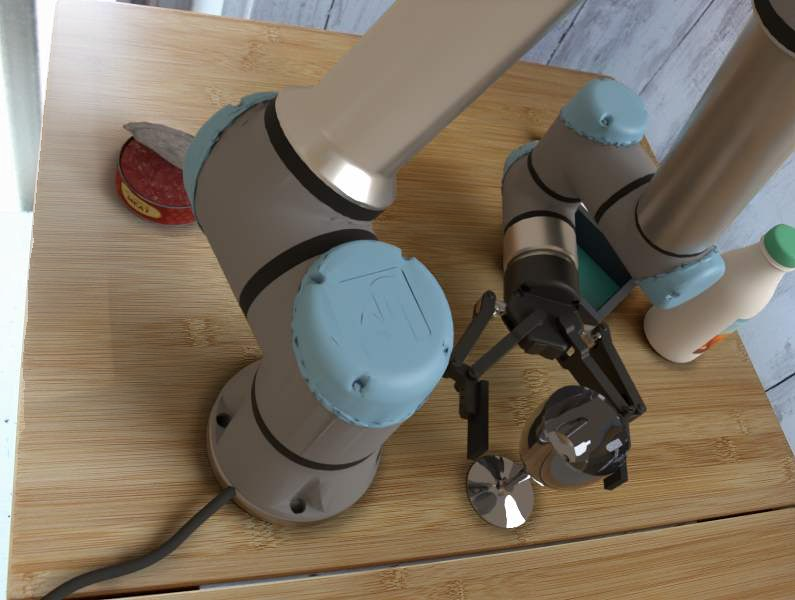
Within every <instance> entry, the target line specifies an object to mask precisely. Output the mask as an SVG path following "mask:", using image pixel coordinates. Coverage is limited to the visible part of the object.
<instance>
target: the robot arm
mask: <svg viewBox="0 0 795 600" xmlns="http://www.w3.org/2000/svg"><path fill="white" fill-rule="evenodd" d="M584 1H585V0H395V1H394V2H393V3H391V5H390V6H389V7H388V8H387V9H386V10H385V11H384V12H383V13H382V15H380V17H379V18H378V19H376V21H375V22H374V23H373V24H372V25H371V26H370V27H369V28H368V29H367V30H366V31H365V32H364V33H363V35H361V36H360V38H359V39H358V40H357V41H356V42H355V43H354V44H353V45H352V46H351V47H350V48H349V49H348V50H347V51H346V53H344V54H343V55H342V56H341V58H340V59H339V60H338V61H337V62H336V63H335V64H334V65H333V66H332V67H331V68H330V70H328V71H327V72H326V74H325V75H324V76H322V77H321V79H320V80H319V81H318V82H317V83H316V84H315V85H299V84H291V85H287V86H285V87H284V88H283V89H281V90H280V91H275V90H269V91H268V90H267V91H257V92H253V93H249V94H247V95H245V96H241V98H240V101H239V103H238V104H237V105H233V104H231V103H228V104H226V105H224V106H223V107H221V108H220V109H218V110H217V111H216V112H215V113H214V114H212V115H211V116H210V117H209V118H208V119H207V120H206V121H205V122H204V123H203V124H202V126H201V127H200V128H199V129H198V131H197V132H196V134H195V135H193V136H194V138H193V140H192V142H191V144H190V145H189V148H188V150H187V153H186V156H185V160H184V165H183V181H184V186H185V190H186V192H187V195H188V198H189V200H190V203H191V205H192V212H193V214H194V216H195V218H196V220H197V221H196V222H195V223H196V225H197V227H198V228H199V230H200V231H201V233H202V234H203V235H204V236H205V238H206V240H207V242H208V244H209V246H210V249H211V250H212V252H213V254H214V256H215V259H216V260H217V262H218V264H219V267H220V269H221V270H222V273H223V275H224V277H225V279H226V281H227V284H228V286H229V287H230V289H231V292H232V294H233V295H234V299H235V300H236V302H237V304H238V306H239V308H240V310H241V312H242V314H243V316H244V318H245V320H246V322H247V324H248V327H249V328H250V331H251V332H252V334H253V336H254V339H255V341H256V343H257V345H258V347H259V349H260V352H261V354H262V358H260V359H258V360H256V361H254V362H251V363H250V364H248V365H246V366H244V367H242V368H241V369H240V370H238V371H237V372H236V373H235V374H233V376H232V377H230V378H229V380H228V381H226V383H225V385H224V386H223V387H222V389H221V390H220V392H219V394H218V395H217V398H216V400H215V402H214V404H213V406H212V407H211V411H210V413H209V415H208V416H209V417H208V420H207V425H206V430H205V431H206V433H205V444H206V445H205V447H206V453H207V457H208V461H209V464H210V468H211V470H212V472H213V475H214V476H215V479H216V481H217V482H218V483H219V484H218V485H220V487H221V488H222V489H223V490H222V491H221V492H220V493H218V495H216V496H215V497H213V498H212V499H211V500H210V501H209V502H208V503H207V504H205V505H204V506H203V507H202V508H201V509H199V510H198V511H197V512H196V513H195V514H194V515H193V516H191V518H190V519H188V520H187V521H186V522H185V523H184V524H183V525H182V526H181V527H179V529H178V530H177V531H176V532H175V533H174V534H173V535H172V536H170V538H168V539H167V540H166V541H165V542H163V543H162V544H161V545H159V546H157V547H156V548H154V549H152V550H151V551H149V552H147V553H145V554H143V555H140V556H138V557H135V558H133V559H130V560H126V561H122V562H120V563H116V564H112V565H108V566H104V567H100V568H96V569H93V570H90V571H88V572H85V573H82V574H80V575H77V576H74V577H72V578H70V579H68V580H67V581H64V582H62V583H61V584H60V585H58V586H56V587H54V588H53V589H52V590H51V591H49V592H47V593H46V594H45V595H44V596H42V597H41V598H39V600H63V599H65V598H66V597H68V596H69V595H71V594H73V593H75V592H77V591H79V590H81V589H84V588H86V587H89V586H92V585H94V584H98V583H102V582H104V581H108V580H112V579H116V578H120V577H125V576H127V575H130V574H133V573H137V572H139V571H142V570H144V569H146V568H148V567H151V566H153V565H154V564H156V563H158V562H160V561H162V560H164V559H165V558H167V557H168V556H169V555H171V554H172V553H173V552H175V550H177V549H178V548H179V547H180V546H181V545H182V544H183V543H184V542H185V541H186V540H187V539H188V538H189V537H191V535H192V534H193V533H194V532H196V530H197V529H199V528H200V526H202V525H203V524H204V523H205V522H207V520H208V519H210V518H211V517H212V516H213V515H215V513H217V512H218V511H219V510H220V509H222V508H223V507H224V506H226V504H227V503H228V502H230V501H231V500H232V501H233V502H234V503H235V504H236V505H237V506H238V507H240V508H241V509H242V510H244V511H245V512H246V513H248V514H250V515H252V516H253V517H255V518H257V519H259V520H261V521H264V522H266V523H269V524H272V525H276V526H280V527H288V528H308V527H315V526H318V525H322V524H325V523H327V522H330V521H332V520H334V519H337V518H338V517H340V516H342V515H343V514H345V513H346V512H347V511H349V509H351V508H352V507H353V506H355V504H357V502H358V501H359V500H360V499H361V498H362V497H363V496H364V495H365V493H366V492H367V491H368V490H369V488H370V487H371V485H372V484H373V481H374V479H375V477H376V475H377V472H378V469H379V466H380V463H381V457H382V454H383V453H382V452H383V451H382V448H383V446H384V443H385V442H386V441H387V440H388V439H389V438H390V437H391V436H392V435H393V434H394V433H395V432H396V431H397V430H398V428H400V427H401V425H403V424H404V422H405V421H406V420H408V419H410V418H411V417H412V416H413V415H414V414H415V413H416V412H417V411H419V410H420V409H421V408H422V406H423V405H424V403H426V402H427V401H428V399H429V398H430V396H431V394H432V392H433V391H434V389H435V387H436V386H437V384H438V383H439V382H440V381H441V379H442V378H443V379H446V380H447V379H451V380H453V381H454V384H453V388H454V390H455V391H456V392H457V393H458V414H459V417H460V419H461V420H462V419H463V420H467V430H466V431H467V433H466V434H467V435H466V460H468V461H472V462H473V461H474V462H476V461H478V460H479V459H480V457H482V456H483V455H484V454H485V453H486V452H488V451H490V447H489V443H490V442H489V440H490V436H489V435H490V433H489V432H490V431H489V429H490V428H489V427H490V426H489V424H490V423H489V422H490V417H489V416H490V414H489V413H490V381H489V380H486V379H481V377H483V376H484V375H485V374H486V373H487V372H488V371H490V370H491V369H492V368H493V367H494V366H495V365H496V364H498V363H499V362H500V361H501V360H502V359H503V358H504V357H505V356H506V355H508V354H509V353H510V352H511V351H513V349H515V347H517V346H518V347H519V348H520V349H522V350H523V353H524V354H526V355H531V356H540V357H542V358H544V359H546V360H550V361H554V360H556V362H557V363H558V364H559V365H560V366H561V368H562V369H564V370H567V371H568V372H569V373H570V374H571V376H572V377H573V379H574V380H575V381H576V383H577V384H578V385H579V386H583V387H587V388H589V389H592V390H594V391H596V392H598V393H599V394H601V395H602V396H603V397H605V398H606V399H607V400H608V401H609V402H610V403H611V404H612V405H613V406H614V408H615V409H616V410H617V411H618V413H619V415H620V416H621V418H622V420H623V422H624V424H625V427H626V430H627V433H628V440H629V450H628V452H629V451H631V448H632V440H631V431H630V430H631V429H630V424H631V423H633V422H634V421H635V420H636V419H638V418H640V417H641V416H642V415H644V414H645V413H646V412H647V409H648V408H647V406H646V404H645V402H644V400H643V398H642V397H641V394H640V392H639V391H638V388H637V386H636V385H635V383H634V381H633V379H632V377H631V375H630V373H629V371H628V369H627V368H626V366H625V364H624V362H623V361H622V358H621V356H620V355H619V352H618V350H617V348H616V347H615V345H614V343H613V339H612V334H611V329H610V326H609V324H608V323H607V322H604V321H600V322H599V323H598V324H597V325H596V326H591V325H585V324H583V322H582V320H581V319H580V316H579V306H580V286H579V274H578V255H577V244H576V233H575V231H576V230H575V211H576V209H577V207H578V206H579V205H580V204H581V203H583V204H584V206H585V207H586V209H587V210H588V212H589V213H590V215H591V216H592V218H593V219H594V221H595V222H596V223H597V225H598V226H599V228H600V229H601V231H602V232H603V234H604V235H605V237H606V238H607V240H608V241H609V243H610V244H611V246H612V248H613V249H614V251H615V252H616V254H617V255H618V257H619V258H620V260H621V261H622V263H623V264H624V266H625V267H626V269H627V270H628V272H629V273H630V275H631V276H632V280H633V281H634V283H635V284H637V287H638V288H639V289H640V290H641V291H642V293H643V294H644V295H645V297H646V298H647V299H648V300H649V302H650V303H651V304H652V305H653V306H655V307H657V308H659V309H670V308H673V307H676V306H678V305H680V304H682V303H684V302H686V301H688V300H690V299H692V298H694V297H695V296H697V295H699V294H700V293H702V292H703V291H705V290H706V289H708V288H709V287H710V286H712V285H713V284H714V283H715V282H717V281H718V280H719V279H720V278H721V277H722V276H723V274H724V272H725V262H724V261H723V259H722V257H721V256H720V254H721V253H719V248H718V246H717V245H714V244H715V243H716V242H717V241H718V240H719V238H720V237H721V236H722V235H723V234H724V232H725V231H727V229H728V228H729V227H730V226H731V225H732V223H733V222H734V221H735V220H736V219H737V217H739V215H740V214H741V213H742V212H743V211H744V210H745V208H746V207H747V206H748V205H749V204H750V203H751V201H752V200H753V199H754V198H755V197H756V196H757V195H758V193H759V192H760V191H761V190H762V189H763V188H764V187H765V185H766V184H767V183H768V182H769V181H770V180H771V178H772V177H773V176H774V175H775V174H776V173H777V172H778V171H779V169H780V168H781V167H782V166H783V164H785V162H787V160H788V159H789V158H790V157H791V156H792V154H794V152H795V0H750V2H751V4H750V5H751V9H752V13H751V15H750V16H749V18H748V19H747V21H746V23H745V24H744V26H743V27H742V29H741V31H740V33H739V35H737V38H736V39H735V41H734V43H733V44H732V46H731V48H730V49H729V51H728V52H727V54H726V55H725V57H724V59H723V61H722V62H721V64H720V66H719V67H718V69H717V71H716V72H715V74H714V76H713V77H712V79H711V81H710V82H709V83H708V85H707V87H706V89H705V90H704V92H703V93H702V95H701V96H700V99H699V100H698V102H697V104H696V105H695V107H694V109H692V112H691V114H689V117H688V118H687V120H686V122H685V123H684V125H683V127H682V128H681V130H680V131H679V133H678V135H677V137H676V138H675V140H674V141H673V143H672V145H671V147H670V148H669V149H668V151H667V153H666V154H665V156H664V158H663V160H662V161H661V163H660V164H659V166H658V167H657V165H656V164H655V163H654V161H653V160H652V158H651V157H650V156H649V154H648V153H647V151H646V149H645V148H644V147H643V146H642V145H641V143H640V142H641V141H642V140H643V138H644V135H645V133H647V131H648V129H649V127H650V123H651V118H650V115H649V113H648V107H647V104H646V103H645V101H644V100H643V99H642V97H641V96H640V95H639V94H638V93H637V92H636V91H635V90H634V89H632V88H631V87H630V86H628V85H627V84H624V83H623V82H621V81H618V80H615V79H612V78H609V77H600V78H594V79H590V80H588V81H586V82H585V83H584V84H582V86H580V88H579V89H578V90H577V92H576V93H575V94H574V95H573V96H572V98H570V99H569V101H568V102H567V103H566V104H564V106H562V107H561V108H560V110H559V113H558V115H557V116H556V118H555V119H554V121H553V122H552V123H551V124H550V126H549V128H548V129H547V130H546V132H544V134H543V136H542V137H541V138H540V140H536V141H535V140H533V141H528V142H525V143H523V145H522V146H520V147H517V148H514V149H513V150H512V151H510V153H509V154H508V155H507V156H506V159H505V161H504V163H503V171H502V178H501V182H500V183H501V186H500V191H501V192H500V193H501V201H502V202H501V203H502V204H501V207H502V210H501V211H502V233H503V234H502V251H503V252H502V253H503V254H502V256H503V257H502V259H503V263H502V265H503V266H502V268H503V277H502V279H503V280H502V281H503V283H502V284H503V285H502V286H503V288H502V289H503V292H502V293H503V295H502V296H503V301H502V300H499V299H497V296H496V293H495V292H494V291H493V290H491V289H488V290H485V291H484V293H482V295H481V296H480V297H479V298H478V300H477V301H476V302H475V303H474V304H473V310H472V315H471V316H472V317H471V321H469V323H468V325H467V327H466V328H465V330H464V331H463V333H462V334H461V336H460V337H459V339H458V340H457V342H456V344H455V345H454V335H455V334H454V333H455V332H454V322H453V316H452V311H451V308H450V305H449V302H448V299H447V296H446V295H445V292H444V290H443V288H442V287H441V285H440V283H439V282H438V281H437V279H436V277H435V276H434V275H433V274H432V273H431V271H430V270H429V269H428V268H427V267H426V266H425V264H423V263H422V262H421V261H419V259H417V258H416V257H415V256H411V257H406V256H404V255H402V249H401V248H400V247H398V246H396V245H394V244H391V243H387V242H385V241H380V240H379V238H378V236H377V235H376V233H375V231H374V229H373V228H372V224H373V222H374V221H375V220H376V219H377V218H379V217H380V216H381V215H382V214H383V213H384V212H385V211H386V210H387V209H388V208H390V206H391V205H392V204H393V203H394V202H395V200H396V199H397V198H396V197H397V174H398V172H399V171H400V170H401V169H402V168H403V167H405V165H407V164H408V163H409V162H410V161H411V160H412V159H413V158H414V157H415V156H417V155H418V153H420V152H421V151H422V150H423V149H424V148H425V147H426V146H427V145H428V144H429V143H431V142H432V141H433V140H434V139H435V138H436V137H437V136H438V135H439V134H440V133H442V132H443V131H444V130H445V129H446V128H447V127H448V126H449V125H451V123H452V122H454V120H456V119H457V118H458V117H459V116H460V115H461V114H462V113H463V112H465V110H466V109H468V108H469V107H470V106H472V104H473V103H475V101H476V100H478V98H479V97H481V96H482V95H483V94H484V93H485V92H487V90H488V89H490V88H491V86H493V85H494V84H495V83H496V82H497V81H498V80H499V79H500V78H501V77H503V76H504V75H505V74H506V73H507V72H508V71H509V70H510V69H511V68H512V67H514V65H516V64H517V63H518V62H519V61H520V60H521V59H522V58H523V57H524V56H525V55H526V54H528V52H530V51H531V50H532V49H533V48H534V47H535V46H536V45H537V44H538V43H539V42H540V41H541V40H543V39H544V38H545V37H546V36H547V35H548V34H549V33H550V32H552V31H553V29H555V28H556V27H557V26H558V25H560V23H561V22H562V21H564V20H565V18H567V17H568V16H570V14H571V13H573V12H574V10H575V9H577V8H578V7H579V6H580V5H581V4H582V3H583V2H584ZM498 316H500V319H501V321H502V323H503V324H504V326H505V327H506V329H507V331H508V333H507V334H506V335H505V336H504V337H502V339H501V340H499V341H498V342H497V343H496V344H495V345H494V346H492V347H491V348H490V349H489V350H488V351H486V352H485V353H484V354H483V355H482V356H481V357H480V358H479V359H477V360H475V362H473V364H472V365H468V364H467V363H465V361H466V359H467V358H468V356H469V354H470V353H471V351H472V350H473V348H474V346H475V345H476V343H477V341H478V340H479V339H480V337H481V335H482V334H483V332H484V331H485V329H486V327H487V326H488V324H489V322H492V321H494V320H495V319H496V318H497V317H498ZM571 348H573V352H572V354H571V355H569V354H568V352H569V350H570V349H571ZM628 481H629V474H628V463H627V459H626V460H625V462H624V464H623V465H622V466H621V468H619V469H618V470H617V471H616V472H615V473H613V474H612V475H610V476H608V477H607V478H605V479H603V490H606V491H613V490H615V489H617V488H619V487H621V486H622V485H624V484H626V483H627V482H628Z"/></svg>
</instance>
